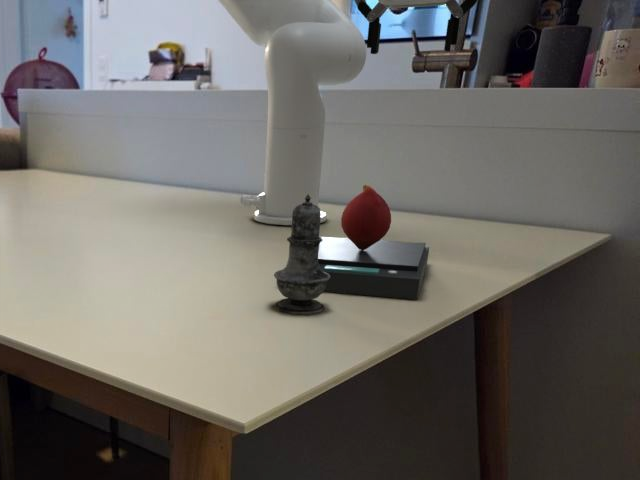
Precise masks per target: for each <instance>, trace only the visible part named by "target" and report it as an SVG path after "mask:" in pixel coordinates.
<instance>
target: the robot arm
mask: <svg viewBox="0 0 640 480" xmlns="http://www.w3.org/2000/svg"><path fill="white" fill-rule="evenodd" d="M217 1H218V2H219V3H220V4H221V5H222V6H223V8H224V9H225V10H226V11H227V13H228V14H229V16H231V18H232V19H233V20H234V21H235V22H236V24H237V25H238V26H239V28H240V29H241V30H242V31H243V32H244V34H246V36H247V37H248V38H249V39H250V41H252V42H253V43H254V44H255V45H257V46H259V47H265V51H264V69H265V77H266V85H267V125H266V126H267V128H266V129H267V130H266V147H265V164H264V166H265V167H264V183H263V184H264V185H263V192H261V193H259V194H258V195H250V194H249V195H248V194H241V196H240V200H239V202H240V203H239V204H240V206H241V207H246V208H251V207H253V208H256V209H258V210H256V211H255V212H253V220H255V221H256V222H259V223H262V224H268V225H275V226H292V214H293V210H294V208H295V207H296V206H298V205H300V204H302V203H303V202H305V201H306V200H305V199H304V198H306V196H307V195H308V194H309V196H310V198H311V199H310V202H311V203H312V204H314V205H316V206H318V207H319V202H320V201H319V200H320V188H321V178H322V177H321V175H322V165H323V151H324V139H325V129H326V128H325V126H326V125H325V124H326V108H325V103H324V100H323V99H324V98H323V97H322V94H321V91H320V88H319V86H340V85H345V84H347V83H349V82H351V81H353V80H354V79H356V78H357V77H358V76H359V75H360V73H361V72H362V70H363V69H364V67H365V64H366V60H367V49H370V55H371V54H372V55H377V54H379V49H380V40H381V30H382V24H381V22H380V21H381V17H382V16H384V14H385V13H386V12H387V10H388V9H389V8H390V9H399V8H402V9H403V8H420V7H422V8H423V7H435V6H436V7H438V6H439V7H440V6H446V8H447V9H448V11H449V13H450V18H449V19H447V26H446V32H445V34H446V35H445V41H444V49H443V51H444V52H446V53H449V52H451V50H452V46H456V45H457V44H458V37H459V31H460V22H461V19H462V18H463V17H464V16H465V15H466V14H467V13H468V12H469V11H470V10H471V9H473V7H474V6H475V5H477V3H478V2H479V0H464V1H463V2H462V3H460V4H459V3H458V2H457V0H377V1H378V2H377V4H376V5H375V6H374V7H373V8H371V6H370V5H369V4H368V3H367V1H366V0H354V3H355V6H356V7H357V10H358V11H359V13H360V14H361V15H362V16H363V17H364V18H365V19H366V21H367V22H368V30H367V41H365V38H364V36H363V34H362V32H361V31H360V29H359V28H358V27H357V25H356V24H355V23H354V22H353V20H351V19H350V18H349V17H348V16H347V15H346V14H345V12H343V10H342V9H340V7H339V6H338V5H337V4H336V3H335V2H334V1H333V0H217ZM326 221H327V214H326V212H324V211H322V210H321V218H320V224H322V223H324V222H326Z"/></svg>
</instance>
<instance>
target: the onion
mask: <svg viewBox="0 0 640 480" xmlns="http://www.w3.org/2000/svg"><path fill="white" fill-rule="evenodd" d="M340 220H341V221H340V223H341V224H340V225H341V229H342V232H343V234H344V235H345V236H346V238H349V239H350V240H351V241H352V242H353V243H354V244H355V246H356V247H357V248H358V249H360V250H365V249H367V248H368V247H370V246H372V245H373V244H375V243H376V242H378V241H379V240H382V239H383V238H384V237H385V236H386V235H387V234H388V232H389V230H390V227H391V223H392V213H391V210H390V207H389V205H388V203H387V201H386V200H385V199H384V198H383V196H381V195H380V194H379V193H378V192H377V191H376V190H375V189H374V188H373V187H372V185H371V184H367V183H365V184H363V186H362V192H360V193H359V194H357V195H356V196H354V197H353V198H352V199H351V200H350V201H349V202H348V203H347V204H346V206H345V207H344V209H343V211H342V215H341V217H340Z"/></svg>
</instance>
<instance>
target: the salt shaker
mask: <svg viewBox="0 0 640 480" xmlns="http://www.w3.org/2000/svg"><path fill="white" fill-rule="evenodd" d="M304 199H305V200H306V201H305V202H303V203H302V204H300V205H298V206H296V207H295V208H294V210H293V214H292V225H291V231H290V236H289V237H287V239H286V241H287V242H289V247H288V248H289V249H288V258H287V263H286V266H285V267H283V268H282V269H279V270H277V271H275V272H274V274H273V277H274V278H275V279H276V286H277V289H278V291H279V292H280V294H282V296H283V297H285V298H282V299H280V300H279V301H277V302H276V303H274V308H275V309H276V310H277V311H280V312H281V313H282V312H283V313H285V314H286V313H287V314H293V315H314V314H319V313H322V312H324V311H325V305H324V304H322V303H321V301H318V300H316V299H317V298H318V297H320V296H321V295H322V294H323V293H324V292H325V291H324V289H325V287H326V284H327V280H329V279H330V275H329V274H328V273H326V272H323V271H321V270H320V268H319V264H318V251H319V243H320V242H322V239H321V238H320V237H321V236H320V230H321V229H320V228H321V223H320V218H321V211H322V210H321V209H320V207H319V205H318V206H316V205H314V204H312V203H311V202H310V199H311V198H310V196H309V194H308V195H307V196H306V198H304Z"/></svg>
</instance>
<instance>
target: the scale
mask: <svg viewBox="0 0 640 480" xmlns="http://www.w3.org/2000/svg"><path fill="white" fill-rule="evenodd" d="M319 237H320V238H321V239H322V242H320V243H319V251H318V264H319V268H320V270H321V271H323V272H326V273H328V274H329V275H330V279H329V280H327V284H326V287H325V289H324V291H323V292H326V293H336V294H337V293H338V294H349V295H358V296H359V295H360V296H361V295H362V296H369V297H370V296H372V297H381V298H393V299H406V300H418V298H419V295H420V291H421V289H422V284H423V280H424V277H425V273H426V271H427V270H426V269H427V266H428V259H429V253H430V246H426V245H427V244H426V242H413V241H411V242H410V241H399V240H398V241H397V240H396V241H395V240H382V239H380V240H379V241H378V242H376V243H375V244H373V245H372V246H370V247H368V248H367V249H365V250H360V249H358V248H357V247H356V246H355V244H354V243H353V242H352V241H351V240H350V239H349V238H348V237H332V236H319Z"/></svg>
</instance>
